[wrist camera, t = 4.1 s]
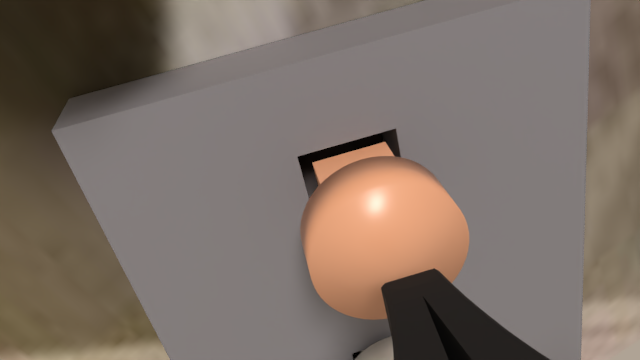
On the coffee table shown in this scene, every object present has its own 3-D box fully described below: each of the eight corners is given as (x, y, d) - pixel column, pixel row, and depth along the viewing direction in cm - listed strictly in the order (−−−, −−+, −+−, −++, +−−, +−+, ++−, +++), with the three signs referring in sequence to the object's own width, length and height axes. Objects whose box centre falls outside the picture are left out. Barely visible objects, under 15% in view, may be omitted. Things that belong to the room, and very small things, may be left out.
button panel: (546, -34, 19) (590, -20, 17) (551, 342, 28) (580, 382, 26) (68, 98, 18) (51, 130, 16) (234, 440, 27) (238, 490, 25)
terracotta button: (410, 104, 18) (462, 163, 14) (427, 218, 20) (475, 293, 17) (273, 143, 17) (291, 213, 14) (306, 254, 20) (328, 337, 16)
